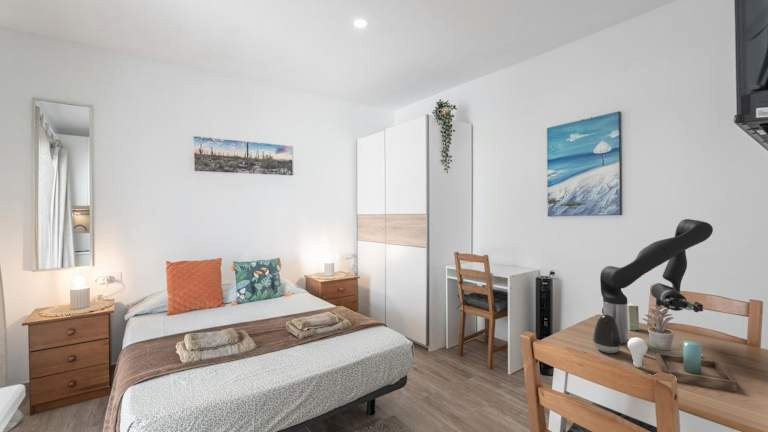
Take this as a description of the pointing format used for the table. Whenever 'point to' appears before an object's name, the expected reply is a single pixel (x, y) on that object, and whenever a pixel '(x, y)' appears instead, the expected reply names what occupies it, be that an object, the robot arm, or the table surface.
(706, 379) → the walnut tray
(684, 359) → the teal canister
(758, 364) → the table surface
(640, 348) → the lightbulb
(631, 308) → the skincare box
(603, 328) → the black rounded dome
